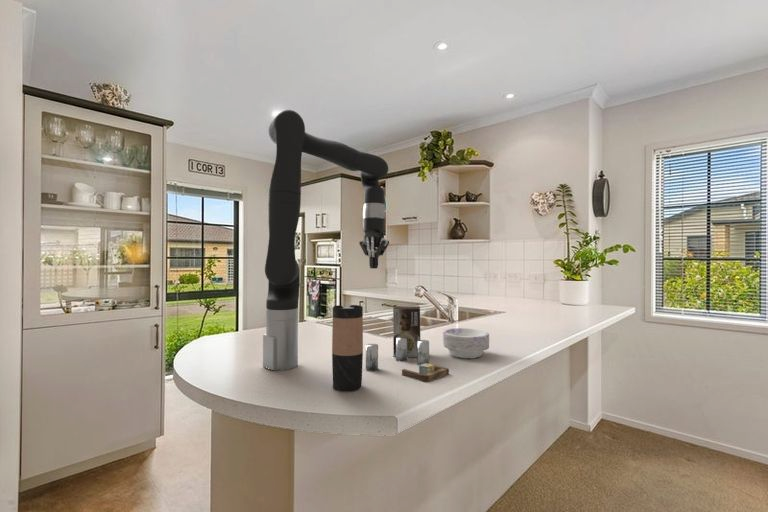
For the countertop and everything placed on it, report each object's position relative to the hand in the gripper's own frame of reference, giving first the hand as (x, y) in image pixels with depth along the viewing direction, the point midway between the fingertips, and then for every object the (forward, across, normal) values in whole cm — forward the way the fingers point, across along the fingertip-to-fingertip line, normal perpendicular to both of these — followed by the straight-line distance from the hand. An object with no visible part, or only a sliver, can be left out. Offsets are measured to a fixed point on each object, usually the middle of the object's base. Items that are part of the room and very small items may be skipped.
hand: (373, 268), depth 128 cm
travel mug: (+29, +20, -28) cm, 45 cm away
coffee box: (+29, +9, +7) cm, 31 cm away
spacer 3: (+29, +20, +2) cm, 35 cm away
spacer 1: (+29, +13, -13) cm, 34 cm away
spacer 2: (+29, +12, +1) cm, 31 cm away
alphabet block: (+29, +28, -6) cm, 41 cm away
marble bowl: (+29, +23, +21) cm, 43 cm away
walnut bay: (+29, +27, -6) cm, 40 cm away
